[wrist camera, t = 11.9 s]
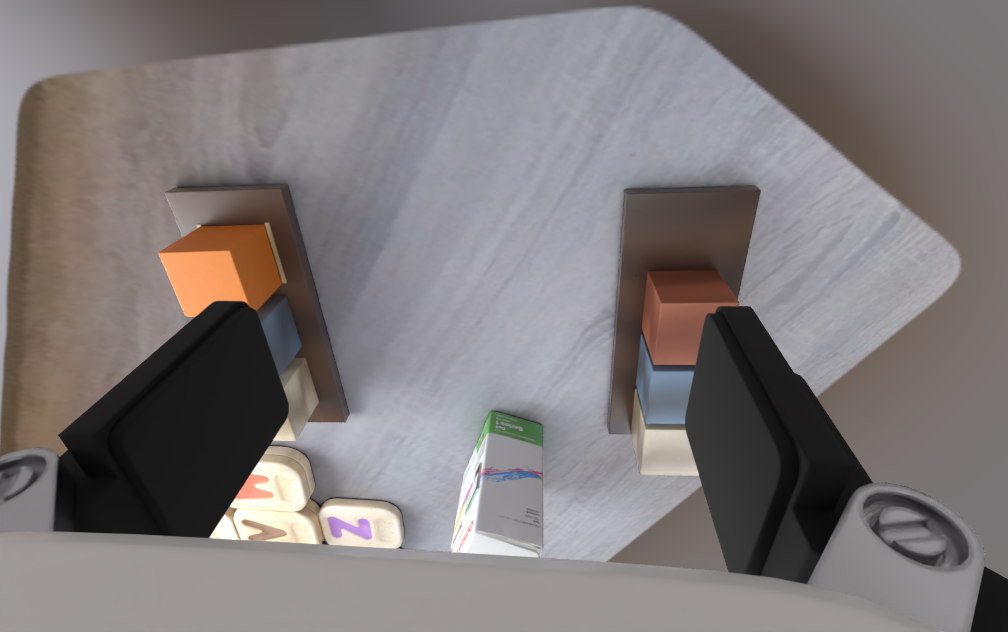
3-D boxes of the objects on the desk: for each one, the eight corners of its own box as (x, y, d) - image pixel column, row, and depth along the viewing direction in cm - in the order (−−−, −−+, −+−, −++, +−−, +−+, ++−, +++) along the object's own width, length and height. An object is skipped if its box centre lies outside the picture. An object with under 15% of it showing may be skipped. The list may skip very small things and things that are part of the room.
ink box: (490, 407, 42) (472, 531, 32) (545, 424, 42) (546, 551, 32) (461, 474, 46) (438, 601, 36) (512, 488, 47) (504, 618, 36)
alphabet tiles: (421, 646, 62) (416, 668, 60) (168, 625, 64) (155, 646, 62) (395, 452, 45) (387, 473, 43) (51, 431, 47) (28, 450, 45)
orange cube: (200, 226, 34) (157, 252, 30) (264, 223, 34) (229, 250, 30) (222, 285, 36) (185, 317, 32) (282, 283, 36) (252, 315, 32)
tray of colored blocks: (173, 187, 34) (113, 215, 29) (287, 184, 33) (245, 211, 28) (261, 413, 44) (227, 461, 39) (349, 414, 43) (325, 462, 39)
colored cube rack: (624, 189, 32) (638, 218, 27) (755, 185, 31) (793, 214, 26) (607, 425, 42) (615, 477, 37) (705, 426, 41) (726, 479, 37)
